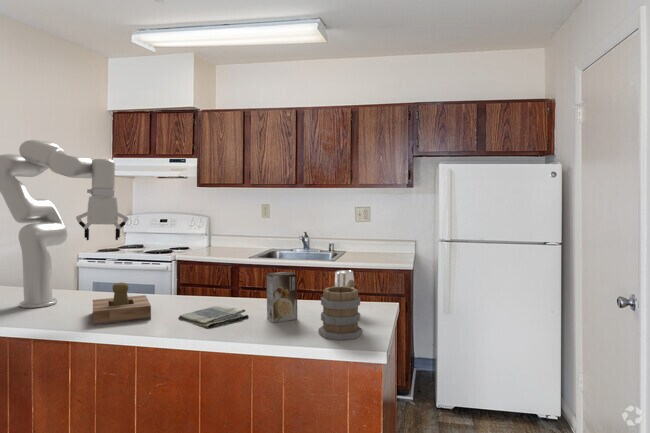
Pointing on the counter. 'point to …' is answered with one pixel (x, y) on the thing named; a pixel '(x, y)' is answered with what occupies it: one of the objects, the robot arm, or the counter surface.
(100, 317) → the docking block
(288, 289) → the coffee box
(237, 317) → the dish towel
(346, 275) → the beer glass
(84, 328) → the counter surface
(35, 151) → the robot arm
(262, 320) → the counter surface
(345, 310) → the tankard
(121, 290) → the cork
